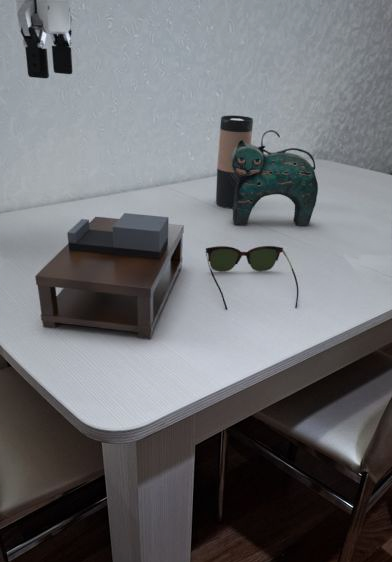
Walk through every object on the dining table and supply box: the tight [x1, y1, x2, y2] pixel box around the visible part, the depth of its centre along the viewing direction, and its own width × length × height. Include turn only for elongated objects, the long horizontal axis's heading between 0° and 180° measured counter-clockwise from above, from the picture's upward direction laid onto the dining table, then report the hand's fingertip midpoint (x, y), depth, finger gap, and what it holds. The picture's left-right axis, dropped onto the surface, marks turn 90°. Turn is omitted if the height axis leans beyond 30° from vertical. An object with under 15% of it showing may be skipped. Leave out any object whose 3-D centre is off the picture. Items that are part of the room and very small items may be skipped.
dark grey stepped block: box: [67, 212, 169, 259], centre depth 77 cm, size 14×7×4 cm, turn 82°
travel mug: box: [215, 114, 254, 209], centre depth 122 cm, size 8×8×20 cm
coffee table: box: [35, 216, 185, 340], centre depth 80 cm, size 16×26×8 cm, turn 172°
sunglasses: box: [205, 245, 299, 310], centre depth 85 cm, size 14×15×5 cm
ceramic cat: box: [231, 129, 319, 227], centre depth 111 cm, size 20×6×20 cm, turn 95°
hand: (51, 75), depth 82 cm, fingers open, 9 cm apart
